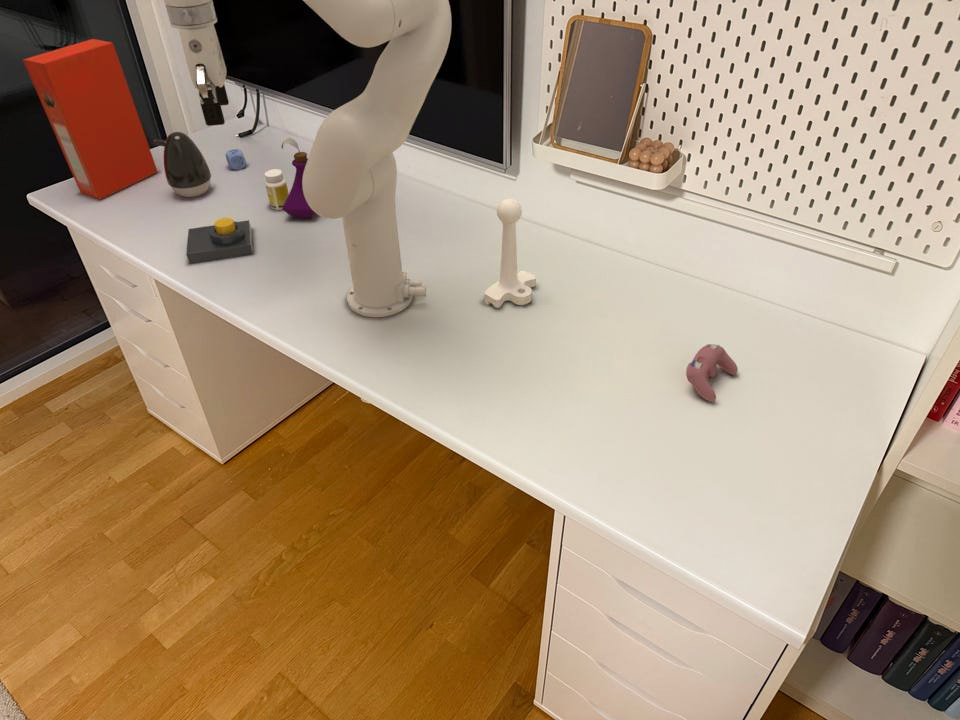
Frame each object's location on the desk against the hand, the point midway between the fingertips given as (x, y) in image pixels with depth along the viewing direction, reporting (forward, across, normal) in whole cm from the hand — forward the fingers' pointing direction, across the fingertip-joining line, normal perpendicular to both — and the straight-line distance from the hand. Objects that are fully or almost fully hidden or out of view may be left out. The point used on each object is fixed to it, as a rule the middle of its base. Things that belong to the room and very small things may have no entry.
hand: (218, 114), depth 127 cm
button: (+27, +5, +5) cm, 28 cm away
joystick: (+30, -27, -50) cm, 65 cm away
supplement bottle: (+31, +22, -5) cm, 39 cm away
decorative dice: (+31, +48, +7) cm, 57 cm away
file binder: (+31, +45, +36) cm, 65 cm away
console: (+31, +6, +7) cm, 32 cm away
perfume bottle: (+31, +17, -11) cm, 37 cm away
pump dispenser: (+31, +35, +16) cm, 50 cm away
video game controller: (+30, -58, -76) cm, 100 cm away
